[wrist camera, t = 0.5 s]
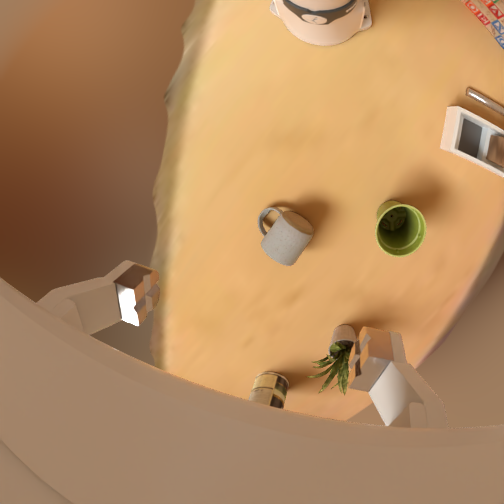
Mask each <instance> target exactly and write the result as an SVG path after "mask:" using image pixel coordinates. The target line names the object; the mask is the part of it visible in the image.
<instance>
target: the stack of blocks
mask: <svg viewBox="0 0 504 504" xmlns="http://www.w3.org/2000/svg"><path fill="white" fill-rule="evenodd" d="M461 1H462V2H463V3H464V4H465V5H466V6H467V7H468V8H469V9H470V10H471V11H472V12H473V13H474V14H475V15H476V16H477V17H478V19H479V20H480V21H481V22H482V23H483V24H484V25H485V27H486V28H487V29H488V30H489V32H490V33H491V34H492V35H493V36H494V37H495V39H496V40H497V41H498V43H499V44H500V45H501V47H502V48H503V49H504V0H461Z"/></svg>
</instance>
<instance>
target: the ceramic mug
mask: <svg viewBox="0 0 504 504" xmlns="http://www.w3.org/2000/svg"><path fill="white" fill-rule="evenodd" d="M270 210H275V211H276V212H278V213H279V214H280V216H279V217H278V218H277V220H276V221H275V223H274V225H273V226H272V227H271V229H270V230H269V231H268V233H267V232H266V231H265V229H264V227H263V218H264V217H265V216H266V214H267V213H269V212H270ZM258 227H259V229H260V232H261V233H262V234H263V236H264V238H263V240H262V242H261V246H262V248H263V250H264V251H265V253H266V254H267V255H268V256H269V257H270V258H272V259H273V260H275V261H276V262H278V263H280V264H283V265H286V266H291V265H293V264H294V263H295V262H296V260H297V259H298V257H299V256H300V255H301V253H302V252H303V250H304V249H305V247H306V246H307V244H308V243H309V241H310V240H311V238H312V236H313V233H314V230H313V227H312V225H311V224H310V223H309V222H308V221H307V220H306V219H304V218H303V217H301V216H300V215H298V214H296V213H294V212H291V211H285V212H283V211H282V210H280V209H278V208H274V207H270V208H266V209H264V210H263V211H262V212H261V213H260V215H259V217H258Z"/></svg>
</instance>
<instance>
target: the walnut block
mask: <svg viewBox="0 0 504 504" xmlns="http://www.w3.org/2000/svg"><path fill="white" fill-rule="evenodd" d="M486 159H487V160H489V161H491V162H493V163H495V164H497V165H499V166H500V167H502V168H504V137H499V136H494V135H491V136H490V141H489V147H488V152H487V156H486Z"/></svg>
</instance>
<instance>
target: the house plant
mask: <svg viewBox="0 0 504 504" xmlns="http://www.w3.org/2000/svg"><path fill="white" fill-rule="evenodd" d="M356 341H357V338H356V335H355V331H354V329H353V328H352V327H351V326H349V325H340V326H338V327H337V328H336V329H335V330H334V333H333V336H332V340H331V343H330V346H329V354H330V355H327V356H328V357H326V358H324V359H322V360H319V361H314V362H313V363H318V364H319V365H321V366H319V367H314V368H323V367H325V366H327V365H329V364H331V363H333V362H334V361H335V362H334V363H333V365H332V366H331V367H329V368H328V369H327V370H326V371H324V372H322V373H320V374H317V375H315V376H307V377H310V378H317V377H321V376H323V375H325V374H327V373H328V372H329V371H330V370H331V369H332V370H331V372H330V375H329V377H328V378H327V380H326V381H325V383H324V385H323V386H322V389H321V390H320V391H319V393H320V392H321V391H323V390H324V389H325V388H326V387H327V386H328V385H329V383H330V382H331V380H332V379H333V377H334V376H335V375H336V374H337V373H338V376H337V377H338V383H337V384H336V385H339V389H340V391H341V392H342V390H341V389H342V388H343V393H344V395H345V393H346V390H347V383H349V382H348V376H349V371H348V361H349V357H350V353H351V350H352V347H353V345H354V343H355V342H356ZM331 357H332V358H331ZM327 359H329V361H327V362H324V361H326V360H327ZM338 370H339V371H338ZM336 385H335V386H336ZM335 386H334V387H335ZM331 389H332V388H331Z"/></svg>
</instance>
